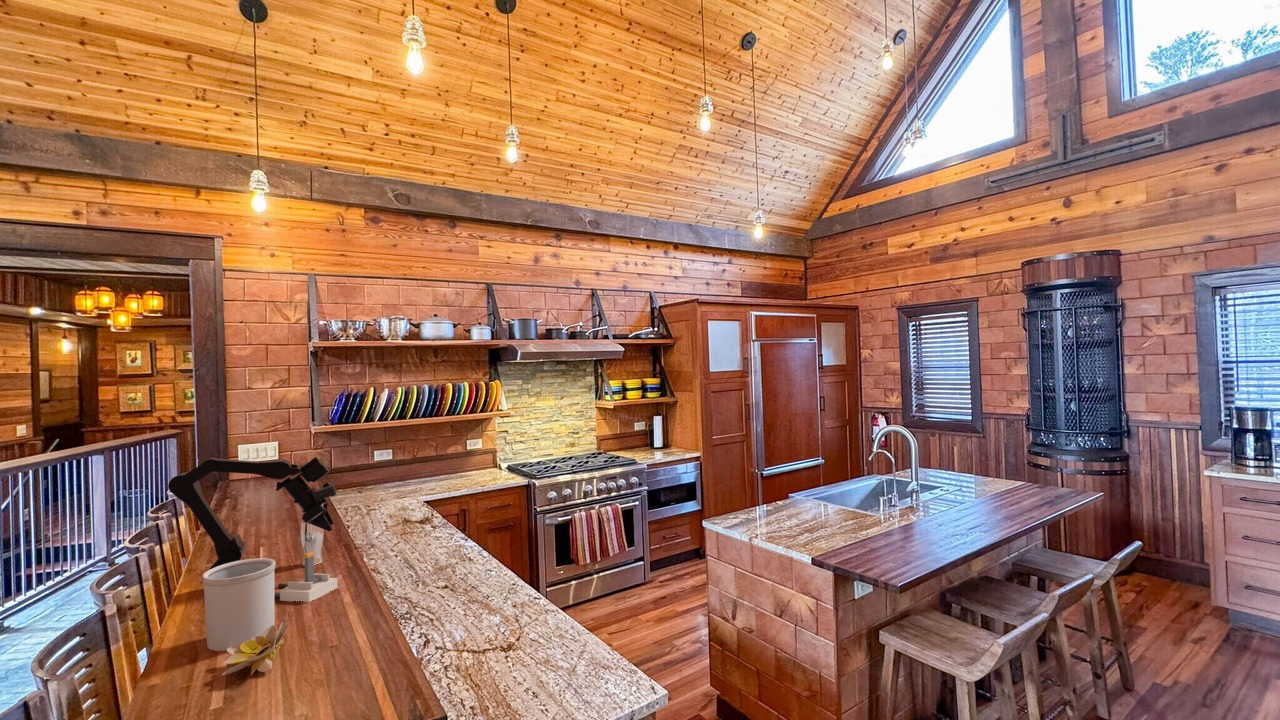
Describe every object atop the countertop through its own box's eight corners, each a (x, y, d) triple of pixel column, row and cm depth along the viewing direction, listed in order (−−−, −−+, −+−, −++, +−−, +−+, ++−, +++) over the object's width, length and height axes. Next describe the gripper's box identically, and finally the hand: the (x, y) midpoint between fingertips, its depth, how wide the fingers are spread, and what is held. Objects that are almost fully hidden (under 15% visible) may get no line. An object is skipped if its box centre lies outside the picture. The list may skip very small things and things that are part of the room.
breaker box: (253, 598, 163) (253, 582, 163) (284, 584, 174) (284, 569, 174) (309, 602, 159) (309, 585, 159) (337, 587, 170) (337, 572, 170)
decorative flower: (230, 648, 129) (241, 605, 129) (285, 649, 133) (295, 607, 134) (208, 685, 115) (221, 637, 115) (271, 685, 119) (282, 638, 120)
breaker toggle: (298, 585, 163) (298, 555, 163) (311, 579, 168) (311, 550, 168) (307, 586, 163) (306, 556, 163) (320, 580, 167) (319, 550, 168)
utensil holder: (238, 655, 129) (237, 579, 129) (186, 650, 132) (186, 576, 132) (290, 626, 143) (289, 559, 144) (242, 623, 146) (242, 556, 147)
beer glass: (316, 567, 190) (315, 523, 190) (296, 567, 190) (296, 523, 190) (328, 560, 197) (327, 518, 197) (309, 560, 197) (308, 518, 197)
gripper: (321, 480, 176) (353, 516, 180) (325, 471, 193) (354, 505, 197) (288, 503, 172) (321, 540, 176) (295, 493, 189) (324, 527, 192)
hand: (331, 527), depth 185 cm, fingers open, 9 cm apart
